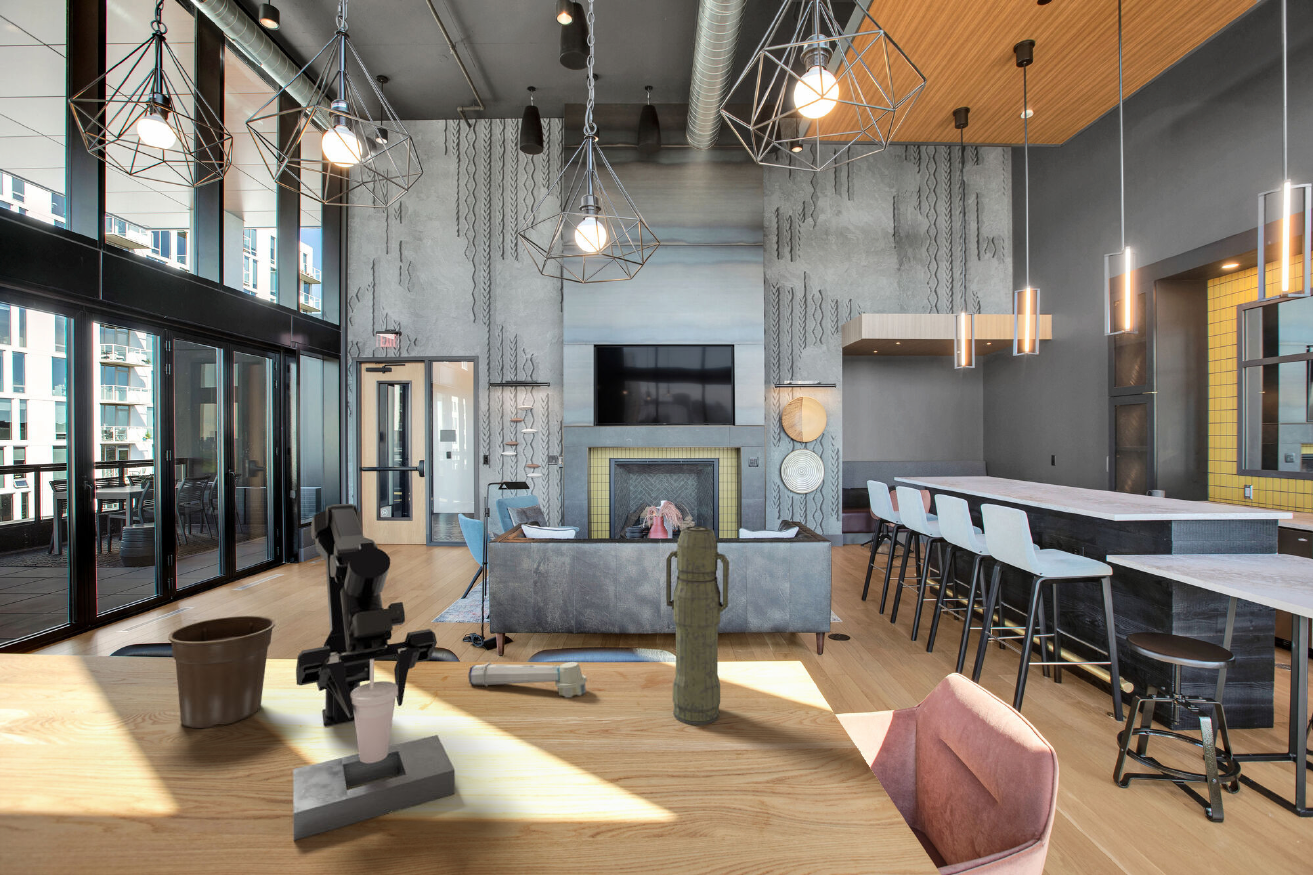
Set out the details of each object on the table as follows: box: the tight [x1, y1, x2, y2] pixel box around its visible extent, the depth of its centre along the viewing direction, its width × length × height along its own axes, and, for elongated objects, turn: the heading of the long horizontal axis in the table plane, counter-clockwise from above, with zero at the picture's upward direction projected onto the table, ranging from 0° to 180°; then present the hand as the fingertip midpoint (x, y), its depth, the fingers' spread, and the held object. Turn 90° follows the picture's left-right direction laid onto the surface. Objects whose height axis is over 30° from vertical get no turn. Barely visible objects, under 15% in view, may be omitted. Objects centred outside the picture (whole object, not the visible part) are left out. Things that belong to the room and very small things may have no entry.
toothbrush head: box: [467, 661, 588, 698], centre depth 125 cm, size 5×7×25 cm
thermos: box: [665, 525, 730, 726], centre depth 114 cm, size 9×12×35 cm
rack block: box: [292, 734, 456, 841], centre depth 87 cm, size 12×20×4 cm, turn 121°
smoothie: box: [350, 659, 398, 763], centre depth 88 cm, size 6×6×14 cm
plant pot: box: [167, 615, 276, 729], centre depth 112 cm, size 16×16×16 cm
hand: (376, 710), depth 87 cm, fingers closed on smoothie, 6 cm apart
